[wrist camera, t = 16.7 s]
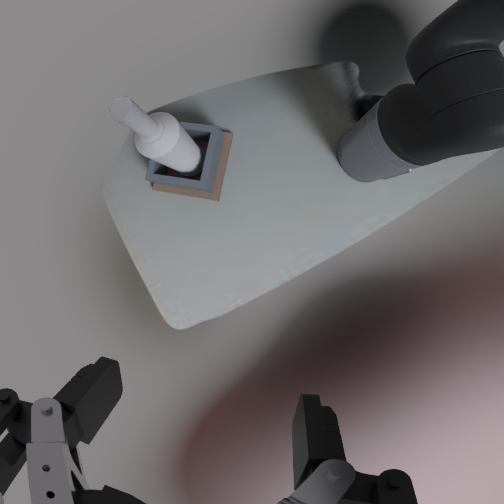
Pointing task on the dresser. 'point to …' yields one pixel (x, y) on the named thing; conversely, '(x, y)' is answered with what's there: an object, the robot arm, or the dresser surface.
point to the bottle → (160, 137)
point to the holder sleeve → (213, 169)
